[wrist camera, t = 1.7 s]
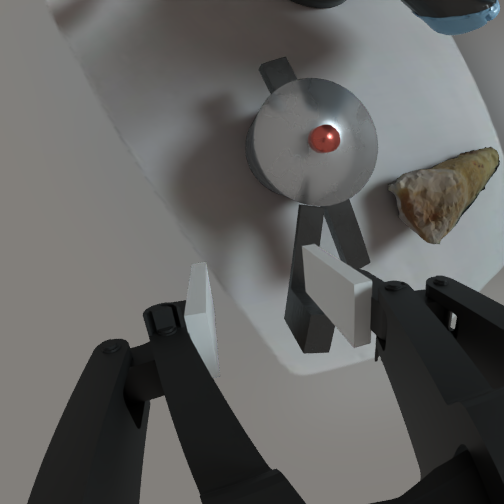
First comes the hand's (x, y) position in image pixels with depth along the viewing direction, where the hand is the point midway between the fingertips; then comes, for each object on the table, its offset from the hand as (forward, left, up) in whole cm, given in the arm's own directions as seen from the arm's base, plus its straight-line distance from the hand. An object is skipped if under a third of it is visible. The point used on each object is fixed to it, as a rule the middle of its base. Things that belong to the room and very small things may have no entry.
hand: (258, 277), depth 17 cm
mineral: (+8, +36, -25) cm, 45 cm away
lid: (+1, +9, -16) cm, 18 cm away
